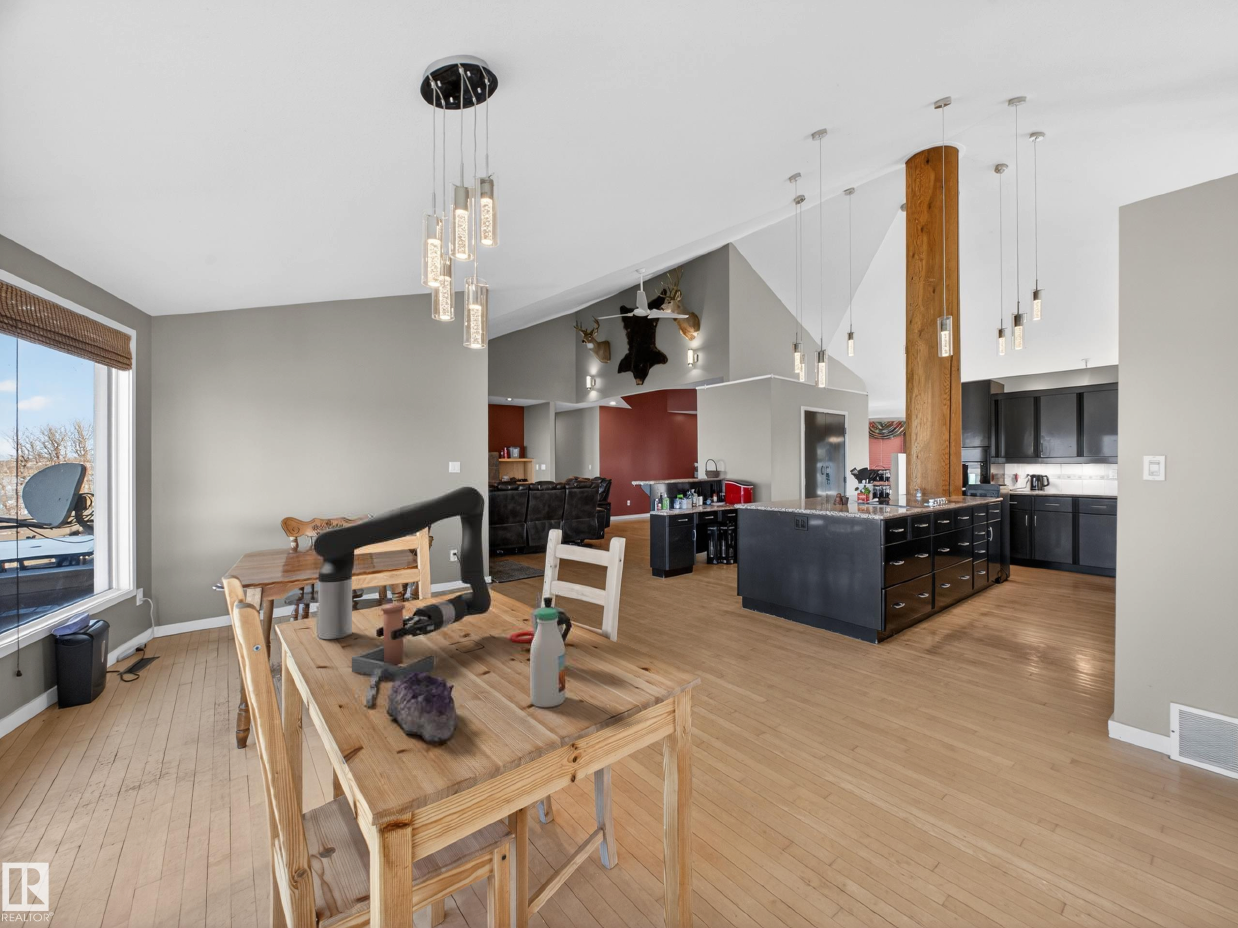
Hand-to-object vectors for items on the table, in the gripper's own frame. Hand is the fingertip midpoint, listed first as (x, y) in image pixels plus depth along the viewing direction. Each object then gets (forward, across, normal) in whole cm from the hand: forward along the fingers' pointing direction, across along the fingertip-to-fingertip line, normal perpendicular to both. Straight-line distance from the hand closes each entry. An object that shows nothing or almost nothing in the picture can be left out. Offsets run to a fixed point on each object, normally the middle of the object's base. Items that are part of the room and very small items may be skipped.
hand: (384, 634), depth 138 cm
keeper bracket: (-3, 0, +10) cm, 10 cm away
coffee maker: (-20, +36, +10) cm, 43 cm away
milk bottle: (-3, +46, +10) cm, 47 cm away
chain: (+9, +6, +10) cm, 15 cm away
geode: (+15, +29, +10) cm, 35 cm away
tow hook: (-38, +16, +10) cm, 43 cm away
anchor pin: (-3, 0, +8) cm, 8 cm away
